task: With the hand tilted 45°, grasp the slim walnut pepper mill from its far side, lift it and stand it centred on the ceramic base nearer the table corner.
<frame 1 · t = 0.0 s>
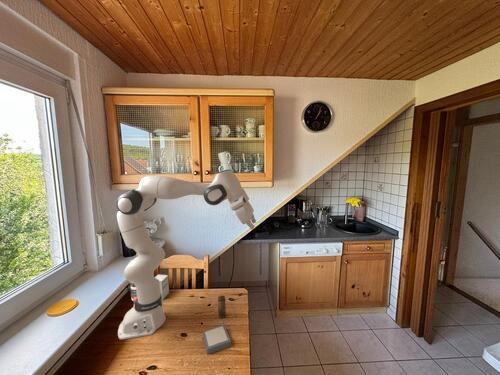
hand: (253, 225, 103), 54 cm above the table, tool tilted 30°, fingers open, 8 cm apart
decorative candle: (139, 297, 138), on the table
base: (216, 340, 104), on the table
supplement box: (161, 296, 139), on the table
pepper mill: (222, 315, 120), on the table
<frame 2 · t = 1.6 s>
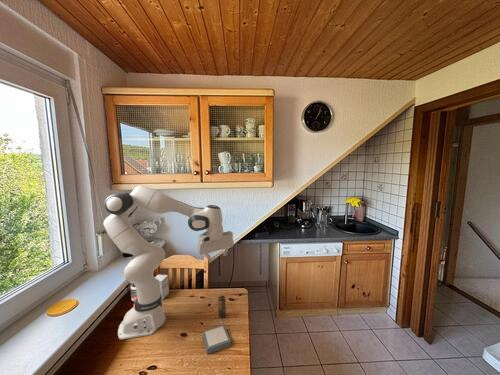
hand: (217, 257, 123), 31 cm above the table, tool pointing down, fingers open, 8 cm apart
nothing on the table moved.
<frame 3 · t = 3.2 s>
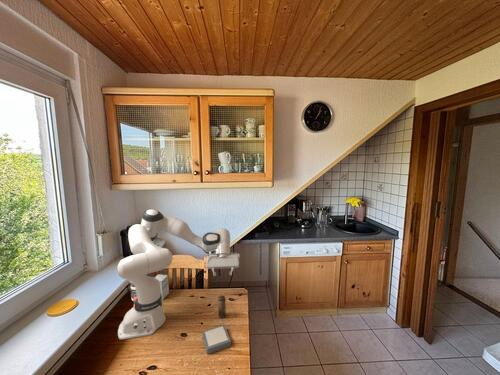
hand: (222, 275, 131), 17 cm above the table, tool tilted 45°, fingers open, 8 cm apart
nothing on the table moved.
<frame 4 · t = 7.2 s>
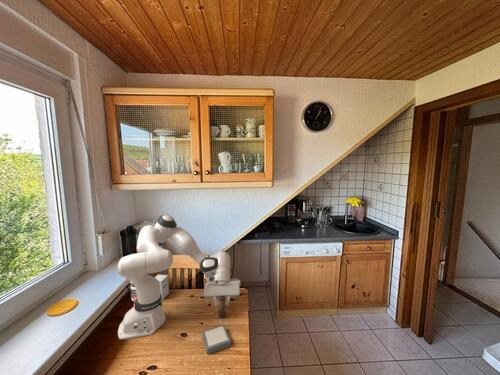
hand: (221, 305, 119), 7 cm above the table, tool tilted 45°, fingers closed on pepper mill, 4 cm apart
pepper mill: (222, 315, 120), on the table, touching gripper
everything else where it was.
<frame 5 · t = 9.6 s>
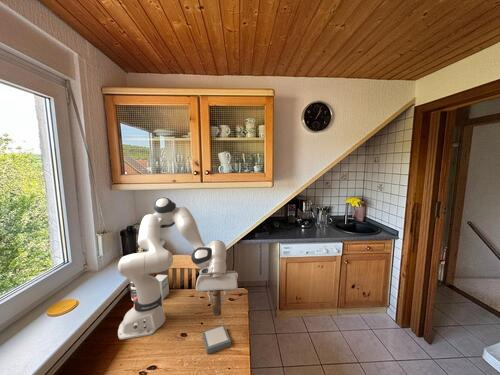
hand: (216, 301, 102), 19 cm above the table, tool tilted 45°, fingers closed on pepper mill, 4 cm apart
pepper mill: (217, 313, 104), point 13 cm above the table, touching gripper
everything else where it was.
when the fingers open (10 cm above the table, at t = 12.3 s): pepper mill drops 1 cm, resting on base.
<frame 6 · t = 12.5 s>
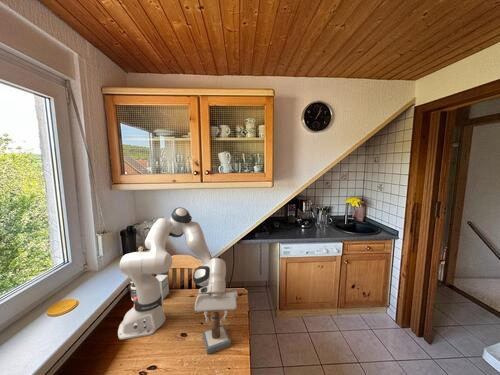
hand: (215, 322, 102), 10 cm above the table, tool tilted 45°, fingers open, 6 cm apart
pepper mill: (215, 335, 104), point 3 cm above the table, touching base
everything else where it was.
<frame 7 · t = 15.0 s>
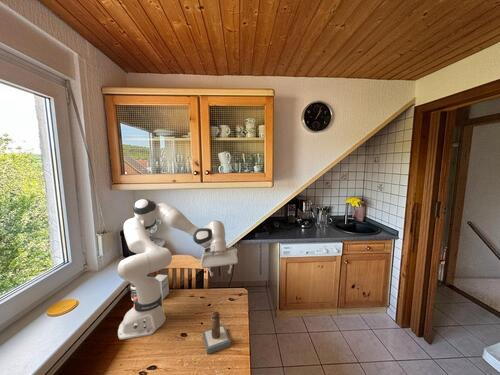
hand: (220, 274, 118), 24 cm above the table, tool tilted 35°, fingers open, 8 cm apart
nothing on the table moved.
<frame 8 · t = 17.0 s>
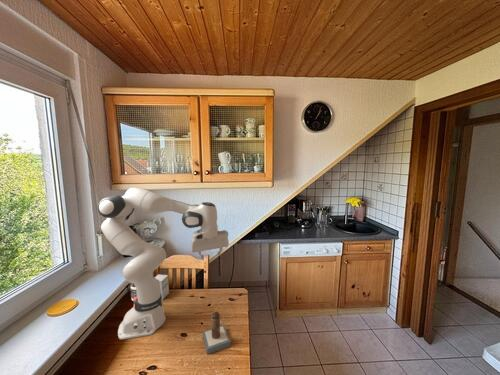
hand: (210, 256, 119), 33 cm above the table, tool pointing down, fingers open, 8 cm apart
nothing on the table moved.
at the end: pepper mill inside the target area on the base (0.1 cm from its centre), point 2.7 cm above the base's base; pepper mill tilted 0°; the gripper is holding nothing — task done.
